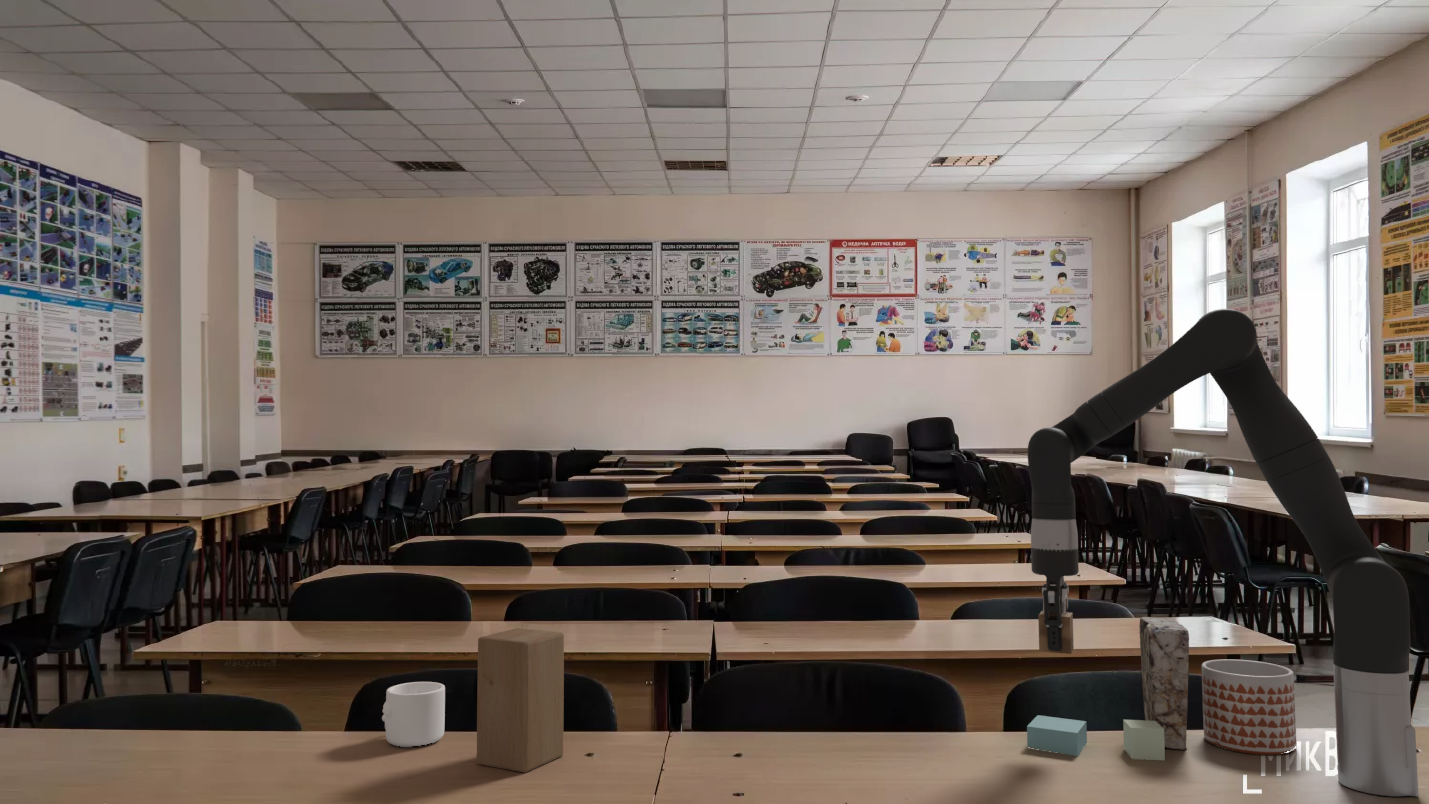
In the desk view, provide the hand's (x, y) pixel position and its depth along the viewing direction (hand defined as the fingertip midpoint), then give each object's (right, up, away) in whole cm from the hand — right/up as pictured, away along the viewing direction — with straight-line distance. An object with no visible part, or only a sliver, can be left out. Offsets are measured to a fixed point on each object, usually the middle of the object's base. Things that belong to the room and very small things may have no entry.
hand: (1056, 647), depth 162 cm
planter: (+33, -17, 0) cm, 37 cm away
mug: (-110, -17, +5) cm, 111 cm away
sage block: (+12, -16, -6) cm, 21 cm away
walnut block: (0, 0, 0) cm, 0 cm away
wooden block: (-89, -17, -7) cm, 91 cm away
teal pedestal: (0, -17, -1) cm, 17 cm away
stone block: (+20, -17, +3) cm, 26 cm away
